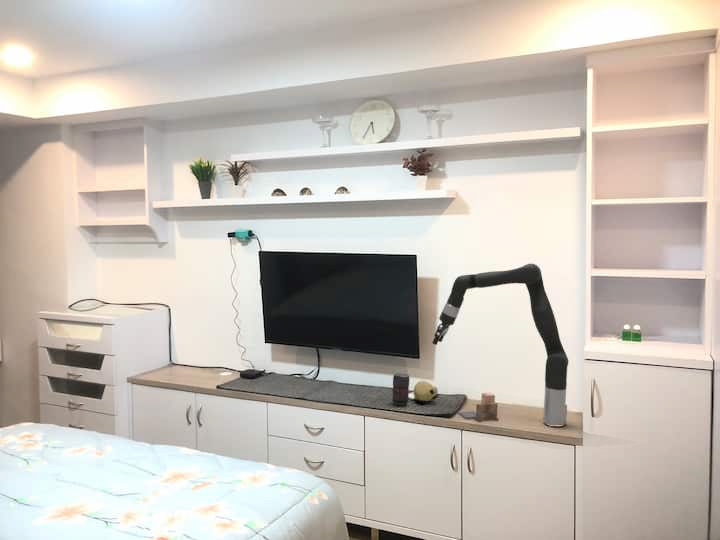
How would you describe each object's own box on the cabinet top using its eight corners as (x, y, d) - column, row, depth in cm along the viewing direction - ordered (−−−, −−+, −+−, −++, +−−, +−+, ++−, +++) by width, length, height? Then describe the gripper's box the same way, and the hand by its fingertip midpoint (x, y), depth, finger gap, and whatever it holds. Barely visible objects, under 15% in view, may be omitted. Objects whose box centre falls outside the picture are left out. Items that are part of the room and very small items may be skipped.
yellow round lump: (432, 406, 292) (433, 385, 291) (410, 402, 297) (410, 381, 297) (439, 401, 300) (440, 381, 299) (417, 397, 306) (418, 377, 305)
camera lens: (403, 408, 287) (405, 378, 286) (389, 405, 292) (390, 375, 290) (411, 404, 294) (412, 374, 293) (396, 401, 298) (397, 372, 297)
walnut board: (493, 417, 278) (494, 401, 278) (498, 420, 274) (499, 404, 273) (474, 418, 275) (475, 403, 275) (478, 421, 271) (479, 405, 271)
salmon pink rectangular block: (489, 413, 285) (490, 392, 284) (493, 416, 281) (494, 395, 280) (480, 413, 284) (481, 392, 283) (485, 416, 279) (486, 395, 278)
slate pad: (473, 413, 284) (473, 411, 284) (481, 418, 276) (481, 416, 276) (458, 414, 282) (458, 412, 281) (465, 419, 274) (465, 417, 274)
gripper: (452, 318, 280) (439, 348, 284) (460, 314, 293) (447, 343, 297) (438, 311, 283) (425, 341, 286) (446, 308, 296) (434, 336, 300)
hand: (436, 342), depth 292 cm, fingers open, 8 cm apart
